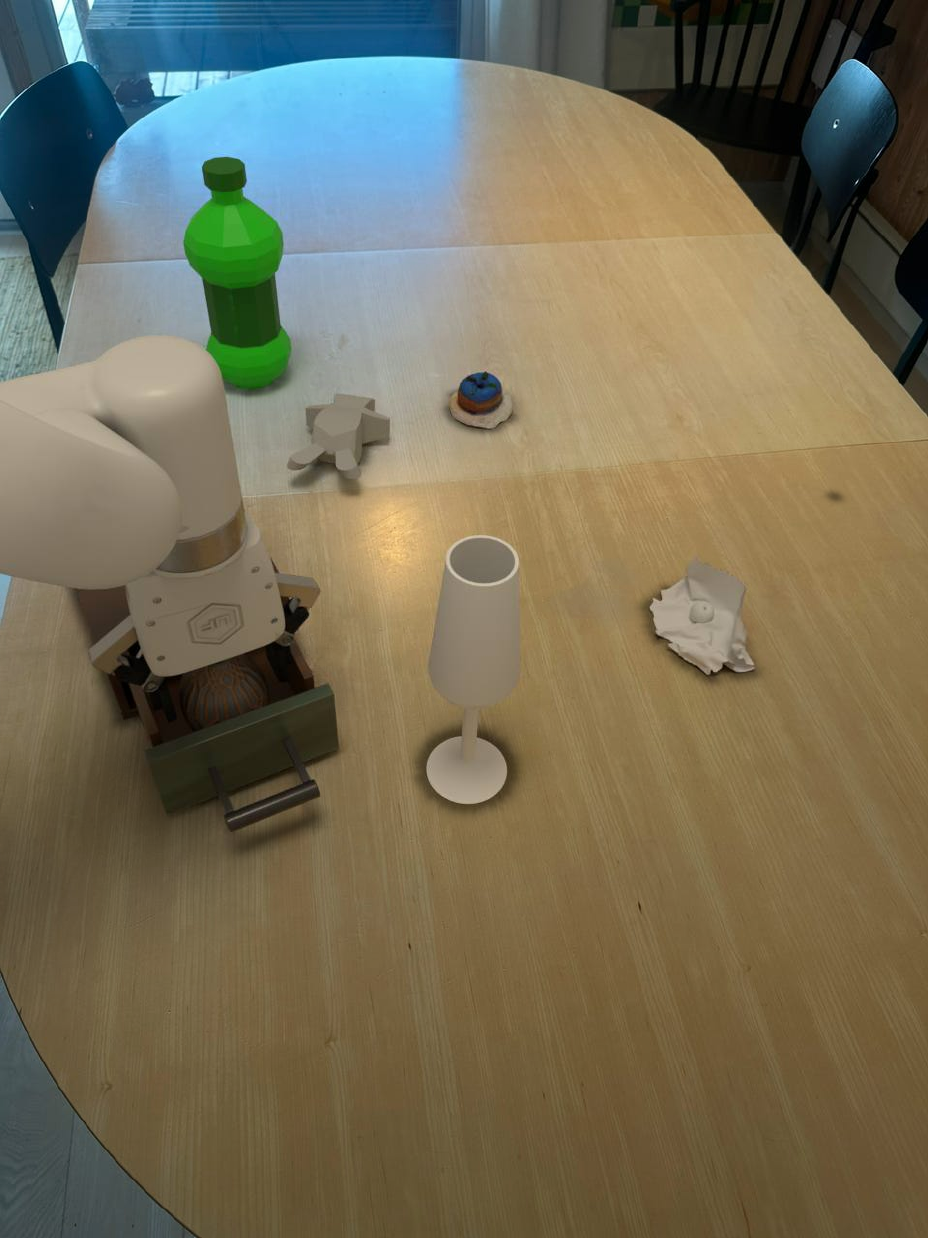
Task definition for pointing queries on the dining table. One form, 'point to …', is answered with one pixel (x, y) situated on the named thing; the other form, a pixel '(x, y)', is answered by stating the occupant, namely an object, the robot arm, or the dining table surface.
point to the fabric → (705, 619)
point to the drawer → (241, 743)
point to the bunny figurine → (341, 433)
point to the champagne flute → (474, 661)
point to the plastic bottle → (238, 278)
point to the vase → (222, 692)
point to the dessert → (481, 401)
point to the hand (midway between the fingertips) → (223, 688)
